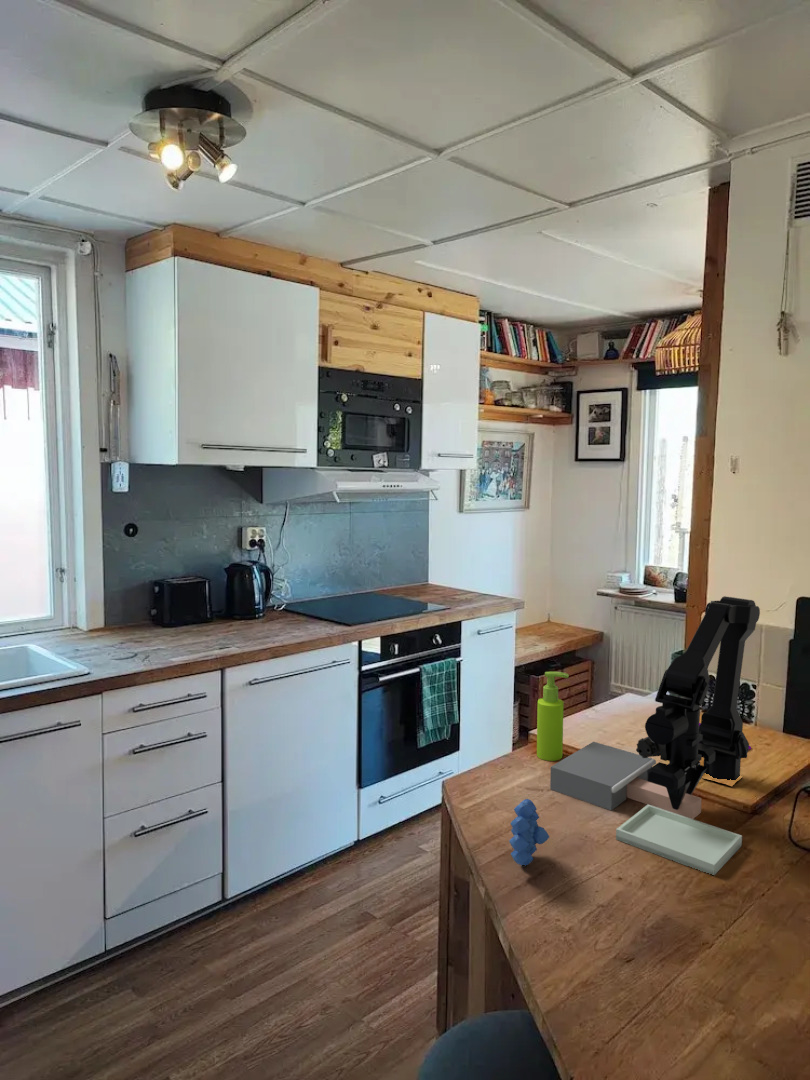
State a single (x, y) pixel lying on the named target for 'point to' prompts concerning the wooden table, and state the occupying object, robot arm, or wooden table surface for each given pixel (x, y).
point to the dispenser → (599, 774)
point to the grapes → (526, 833)
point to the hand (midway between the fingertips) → (680, 805)
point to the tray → (680, 838)
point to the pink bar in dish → (662, 798)
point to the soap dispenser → (550, 720)
